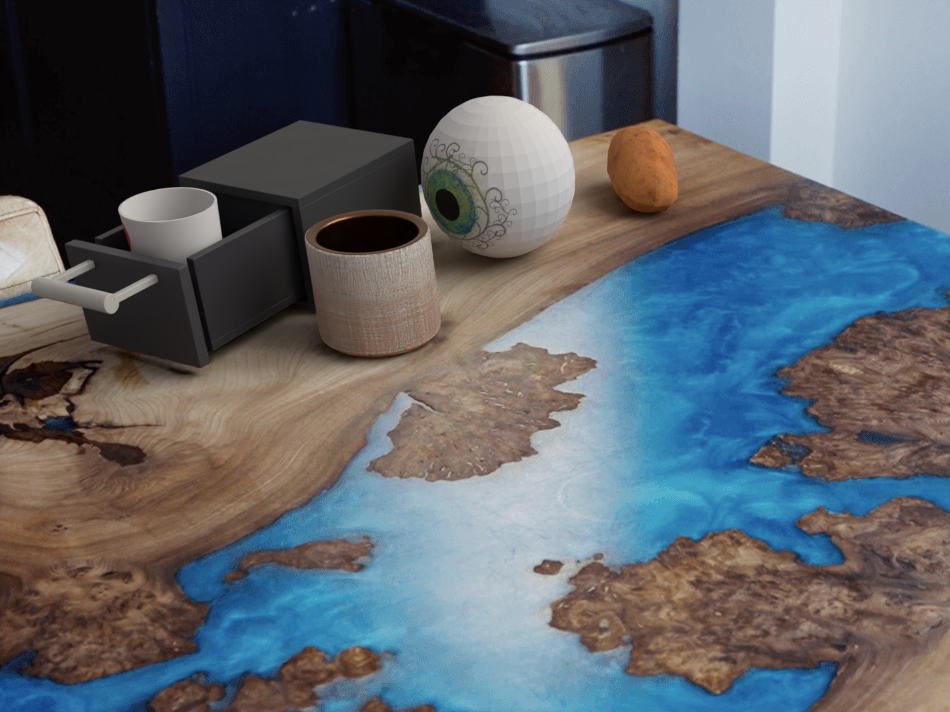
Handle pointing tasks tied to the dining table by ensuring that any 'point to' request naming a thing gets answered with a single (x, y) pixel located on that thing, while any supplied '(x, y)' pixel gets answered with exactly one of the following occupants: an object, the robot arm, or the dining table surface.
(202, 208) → the cup
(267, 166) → the cabinet
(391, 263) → the planter
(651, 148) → the potato
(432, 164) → the decorative object
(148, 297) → the drawer
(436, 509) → the dining table surface
